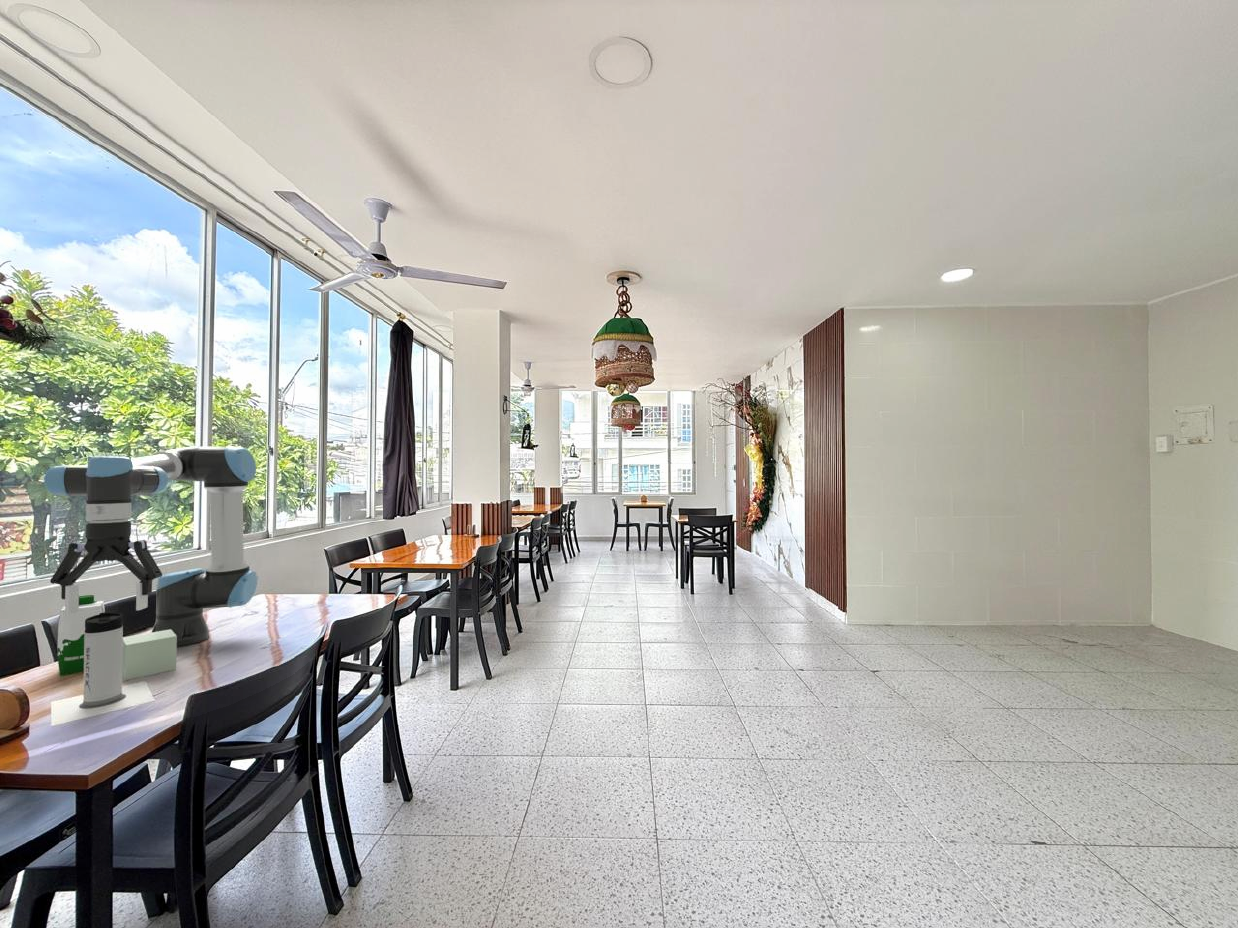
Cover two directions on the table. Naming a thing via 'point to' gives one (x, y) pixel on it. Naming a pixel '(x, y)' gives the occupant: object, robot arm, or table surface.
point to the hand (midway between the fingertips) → (107, 610)
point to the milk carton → (75, 634)
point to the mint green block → (148, 654)
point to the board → (76, 710)
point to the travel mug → (103, 659)
